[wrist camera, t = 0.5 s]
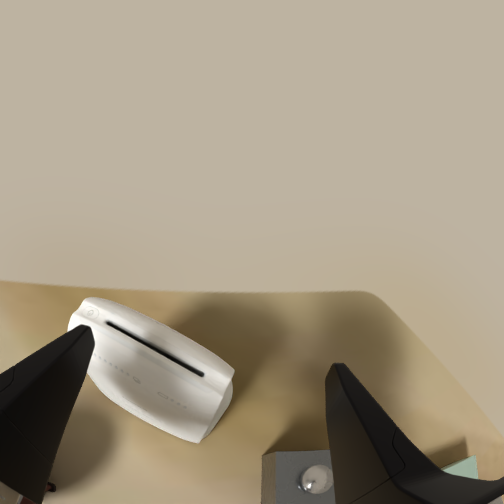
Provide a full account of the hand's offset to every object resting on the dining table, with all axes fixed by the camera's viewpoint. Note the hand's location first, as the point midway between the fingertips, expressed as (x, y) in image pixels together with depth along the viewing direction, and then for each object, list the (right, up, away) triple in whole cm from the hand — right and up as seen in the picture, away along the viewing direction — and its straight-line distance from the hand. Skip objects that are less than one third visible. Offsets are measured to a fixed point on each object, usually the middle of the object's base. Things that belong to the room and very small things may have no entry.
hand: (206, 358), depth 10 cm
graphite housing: (+5, -18, +8) cm, 20 cm away
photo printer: (-7, -9, +12) cm, 16 cm away
